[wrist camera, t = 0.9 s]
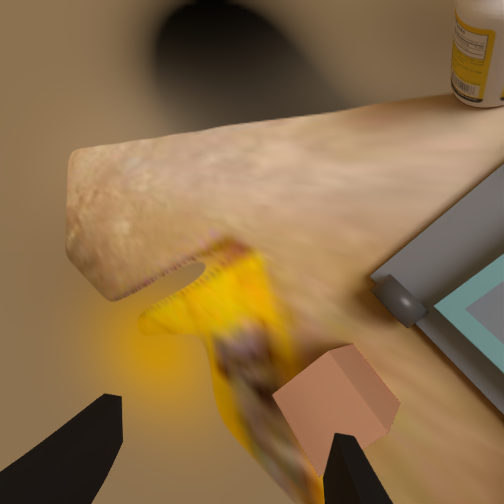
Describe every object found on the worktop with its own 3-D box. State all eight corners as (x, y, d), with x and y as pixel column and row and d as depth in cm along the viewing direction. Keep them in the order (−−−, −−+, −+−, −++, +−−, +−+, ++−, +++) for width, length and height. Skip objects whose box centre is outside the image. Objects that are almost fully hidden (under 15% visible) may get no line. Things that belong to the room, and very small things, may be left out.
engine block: (400, 403, 18) (388, 432, 14) (347, 437, 20) (318, 476, 15) (353, 343, 21) (327, 350, 16) (308, 378, 22) (272, 394, 17)
